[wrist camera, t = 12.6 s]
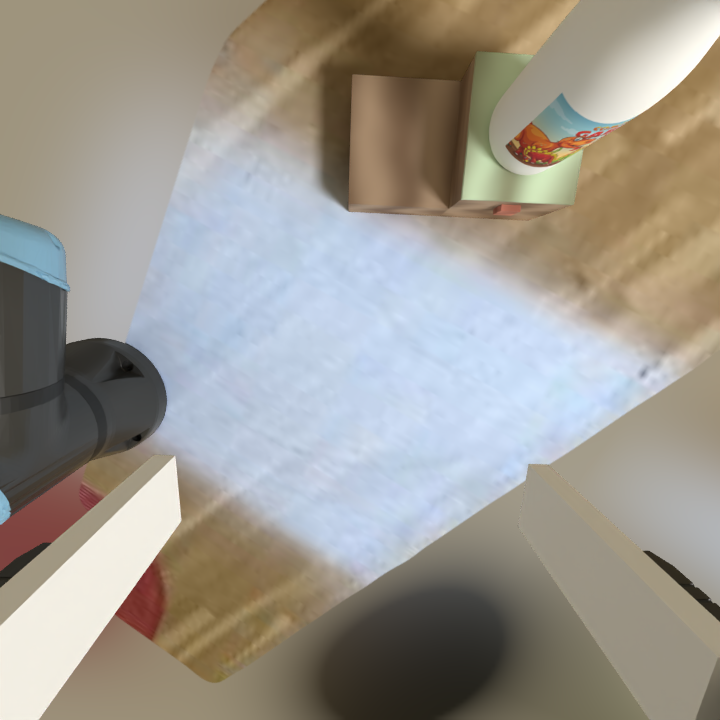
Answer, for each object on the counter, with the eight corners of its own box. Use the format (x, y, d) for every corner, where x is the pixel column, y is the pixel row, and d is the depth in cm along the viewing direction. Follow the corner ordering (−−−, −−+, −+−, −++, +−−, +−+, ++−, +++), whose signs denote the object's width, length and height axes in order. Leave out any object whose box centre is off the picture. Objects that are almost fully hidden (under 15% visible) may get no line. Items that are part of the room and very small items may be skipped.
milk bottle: (468, 135, 31) (670, -123, 11) (530, 62, 29) (878, -369, 10) (524, 195, 32) (792, 59, 12) (585, 128, 31) (989, -140, 11)
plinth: (348, 216, 40) (347, 199, 32) (352, 90, 37) (352, 34, 29) (528, 225, 41) (572, 210, 32) (546, 101, 38) (600, 51, 29)
